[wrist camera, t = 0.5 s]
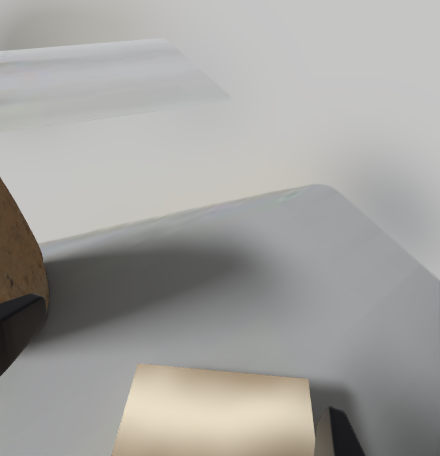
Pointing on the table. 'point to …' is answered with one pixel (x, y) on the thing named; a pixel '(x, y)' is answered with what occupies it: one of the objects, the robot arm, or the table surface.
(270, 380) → the birch base block
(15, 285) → the block
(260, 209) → the table surface
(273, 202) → the table surface
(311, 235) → the table surface
